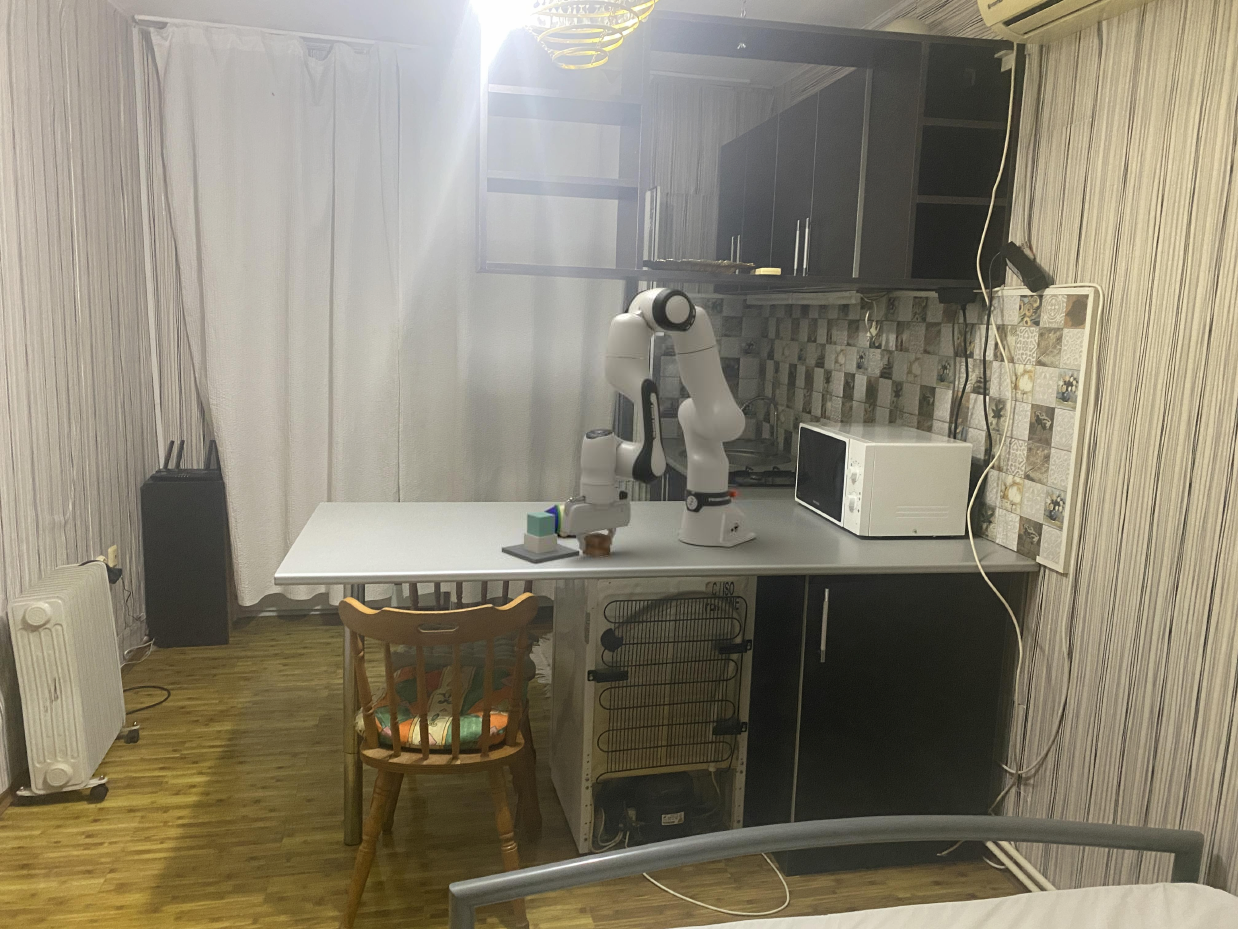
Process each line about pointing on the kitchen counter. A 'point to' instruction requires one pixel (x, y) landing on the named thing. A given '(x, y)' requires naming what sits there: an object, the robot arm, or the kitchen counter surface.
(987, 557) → the kitchen counter surface
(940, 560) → the kitchen counter surface
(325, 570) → the kitchen counter surface
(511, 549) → the build board
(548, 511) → the cartoon head
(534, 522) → the teal block
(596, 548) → the walnut block
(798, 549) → the kitchen counter surface
